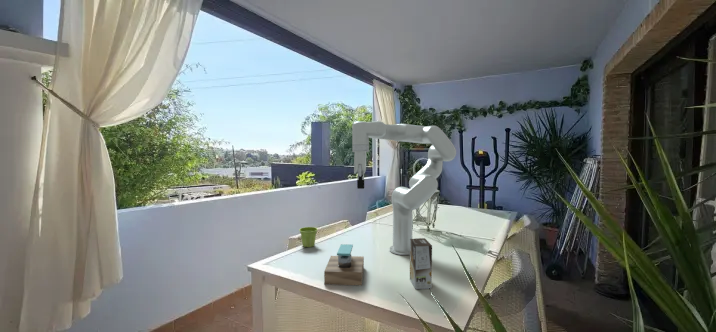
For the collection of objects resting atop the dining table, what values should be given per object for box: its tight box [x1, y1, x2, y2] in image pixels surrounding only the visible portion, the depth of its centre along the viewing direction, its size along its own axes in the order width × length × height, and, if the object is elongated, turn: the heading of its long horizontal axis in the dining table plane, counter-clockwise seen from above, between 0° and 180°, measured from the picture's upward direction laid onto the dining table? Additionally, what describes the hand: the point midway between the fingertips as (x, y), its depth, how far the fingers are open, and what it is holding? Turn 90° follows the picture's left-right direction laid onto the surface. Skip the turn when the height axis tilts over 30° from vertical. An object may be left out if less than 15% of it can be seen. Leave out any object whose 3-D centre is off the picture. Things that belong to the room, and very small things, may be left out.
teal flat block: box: [336, 243, 354, 256], centre depth 122 cm, size 12×5×1 cm, turn 176°
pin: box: [337, 253, 352, 268], centre depth 120 cm, size 5×5×9 cm
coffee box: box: [409, 237, 433, 290], centre depth 115 cm, size 9×6×16 cm
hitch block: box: [323, 255, 365, 286], centre depth 122 cm, size 16×14×10 cm
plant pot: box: [298, 226, 319, 248], centre depth 159 cm, size 9×9×9 cm
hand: (360, 188), depth 142 cm, fingers closed
